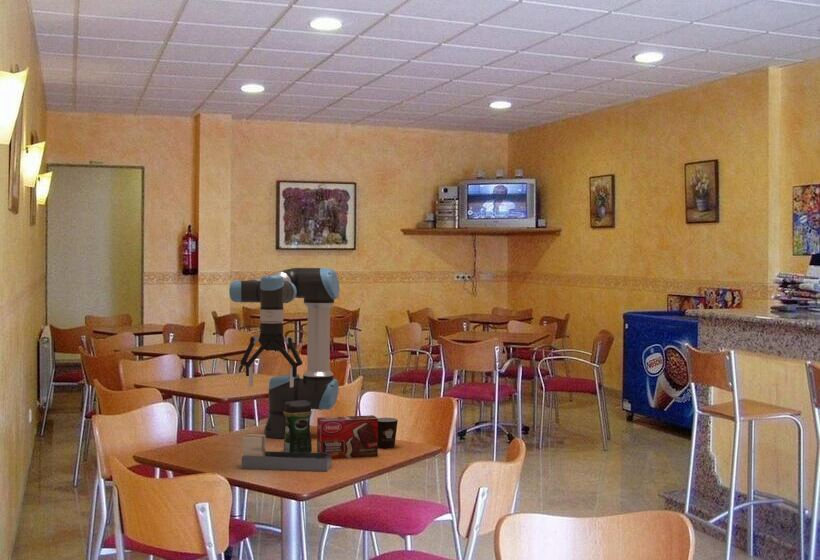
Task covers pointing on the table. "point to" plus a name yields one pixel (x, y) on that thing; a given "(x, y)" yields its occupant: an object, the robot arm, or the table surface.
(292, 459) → the chute
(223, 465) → the table surface
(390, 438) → the coffee mug
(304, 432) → the coffee jar
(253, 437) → the block
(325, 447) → the ice cream box
